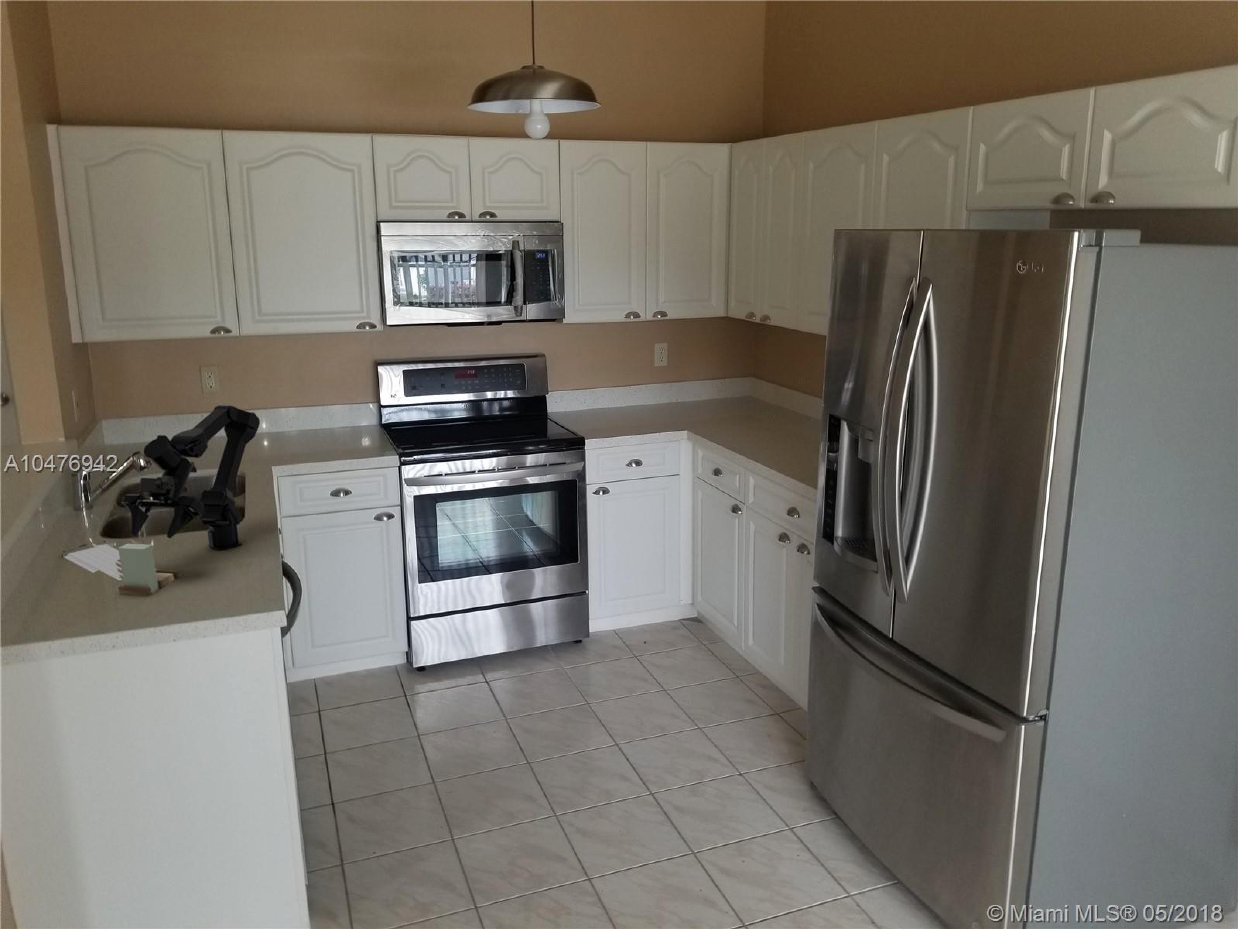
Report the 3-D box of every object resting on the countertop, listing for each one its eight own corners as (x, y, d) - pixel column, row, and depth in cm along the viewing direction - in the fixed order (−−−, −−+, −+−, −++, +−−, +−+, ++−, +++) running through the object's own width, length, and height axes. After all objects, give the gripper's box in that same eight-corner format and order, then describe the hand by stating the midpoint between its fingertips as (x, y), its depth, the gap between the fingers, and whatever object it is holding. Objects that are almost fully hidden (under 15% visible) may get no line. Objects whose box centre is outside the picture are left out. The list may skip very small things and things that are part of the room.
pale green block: (133, 587, 219) (126, 543, 216) (158, 589, 218) (152, 544, 215) (125, 592, 216) (118, 548, 213) (150, 593, 215) (143, 549, 212)
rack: (152, 579, 226) (150, 569, 225) (180, 580, 225) (179, 570, 224) (119, 597, 215) (118, 587, 214) (149, 599, 214) (147, 588, 213)
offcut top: (149, 575, 224) (149, 572, 224) (173, 576, 223) (173, 573, 223) (138, 581, 220) (138, 578, 220) (163, 582, 219) (162, 579, 219)
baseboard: (109, 589, 222) (159, 575, 230) (107, 578, 221) (157, 564, 230) (58, 561, 241) (106, 549, 250) (56, 551, 240) (104, 539, 249)
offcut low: (150, 578, 224) (149, 575, 224) (174, 579, 223) (173, 576, 223) (139, 584, 220) (138, 581, 220) (163, 586, 219) (163, 582, 219)
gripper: (120, 461, 222) (95, 519, 214) (191, 464, 219) (168, 522, 211) (146, 484, 231) (123, 540, 223) (214, 487, 228) (193, 544, 220)
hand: (151, 536), depth 219 cm, fingers open, 9 cm apart
